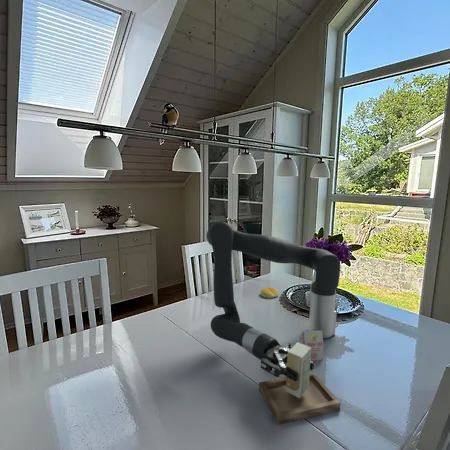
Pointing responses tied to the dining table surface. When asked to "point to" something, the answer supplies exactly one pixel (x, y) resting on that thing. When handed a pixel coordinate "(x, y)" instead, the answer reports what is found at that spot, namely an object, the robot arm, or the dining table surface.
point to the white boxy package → (313, 343)
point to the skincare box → (299, 369)
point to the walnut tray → (298, 400)
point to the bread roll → (269, 292)
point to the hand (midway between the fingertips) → (305, 372)
